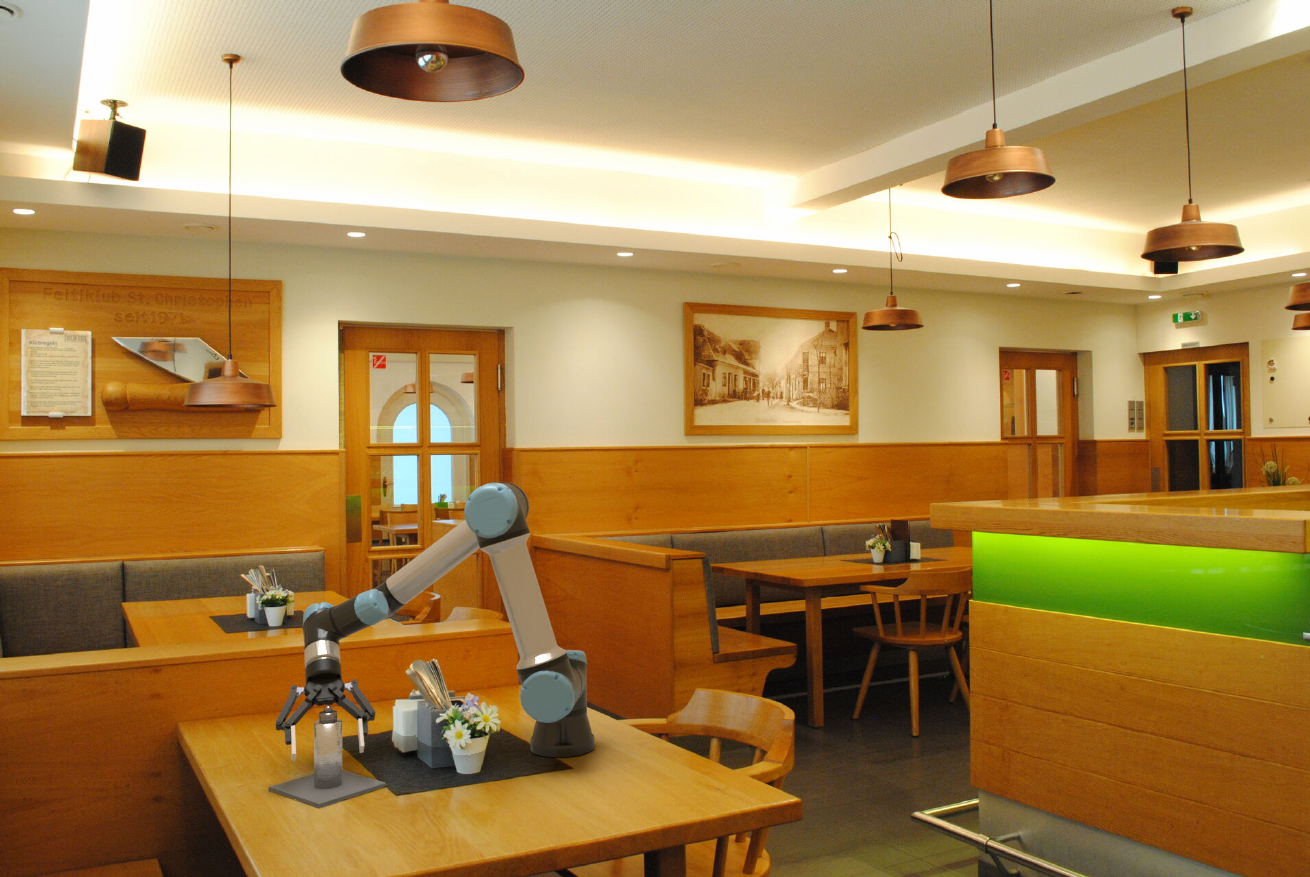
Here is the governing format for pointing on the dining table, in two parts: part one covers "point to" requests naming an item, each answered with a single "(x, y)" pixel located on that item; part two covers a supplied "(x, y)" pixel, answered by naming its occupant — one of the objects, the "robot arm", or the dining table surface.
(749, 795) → the dining table surface
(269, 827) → the dining table surface
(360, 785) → the slate mat
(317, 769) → the pepper mill
